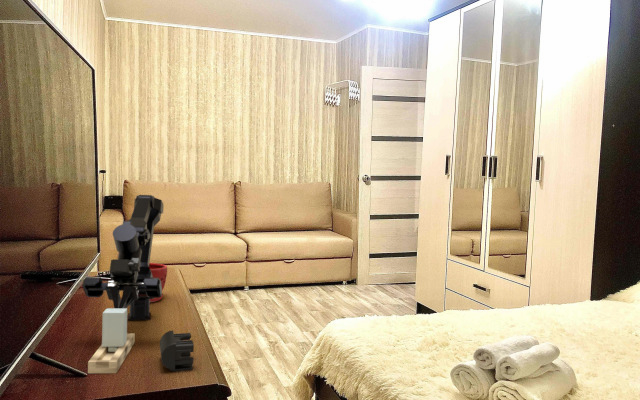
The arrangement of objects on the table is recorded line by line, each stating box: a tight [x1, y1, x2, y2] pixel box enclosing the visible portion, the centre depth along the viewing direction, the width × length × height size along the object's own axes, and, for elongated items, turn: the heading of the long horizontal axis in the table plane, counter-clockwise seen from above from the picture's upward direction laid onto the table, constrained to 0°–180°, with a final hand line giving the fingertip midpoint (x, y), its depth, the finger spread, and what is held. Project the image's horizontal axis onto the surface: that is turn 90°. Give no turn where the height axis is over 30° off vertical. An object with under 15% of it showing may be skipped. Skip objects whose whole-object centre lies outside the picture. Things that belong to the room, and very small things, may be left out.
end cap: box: [159, 329, 195, 373], centre depth 125 cm, size 10×7×7 cm
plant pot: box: [149, 262, 168, 303], centre depth 180 cm, size 13×13×12 cm
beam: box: [87, 332, 136, 374], centre depth 127 cm, size 20×6×3 cm, turn 8°
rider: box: [101, 307, 128, 352], centre depth 128 cm, size 4×5×10 cm
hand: (117, 316), depth 130 cm, fingers closed, pressing on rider
